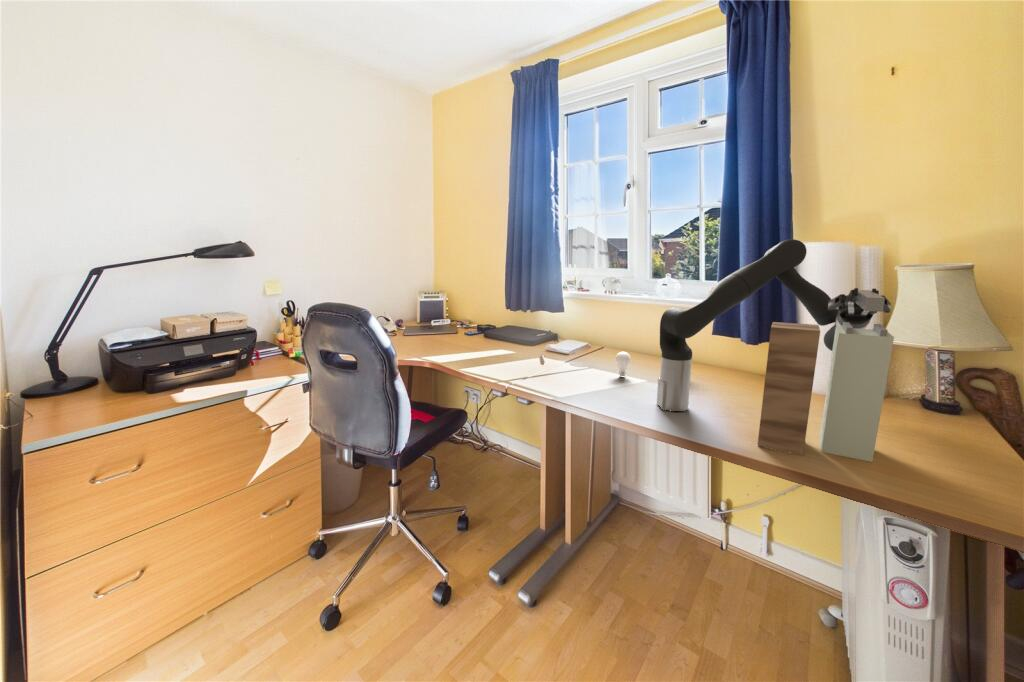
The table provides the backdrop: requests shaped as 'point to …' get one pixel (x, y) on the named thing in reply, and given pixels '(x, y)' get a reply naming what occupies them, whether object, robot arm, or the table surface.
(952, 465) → the table surface
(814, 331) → the walnut stand
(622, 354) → the lightbulb
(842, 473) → the table surface
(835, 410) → the cradle stand
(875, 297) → the axle bar
